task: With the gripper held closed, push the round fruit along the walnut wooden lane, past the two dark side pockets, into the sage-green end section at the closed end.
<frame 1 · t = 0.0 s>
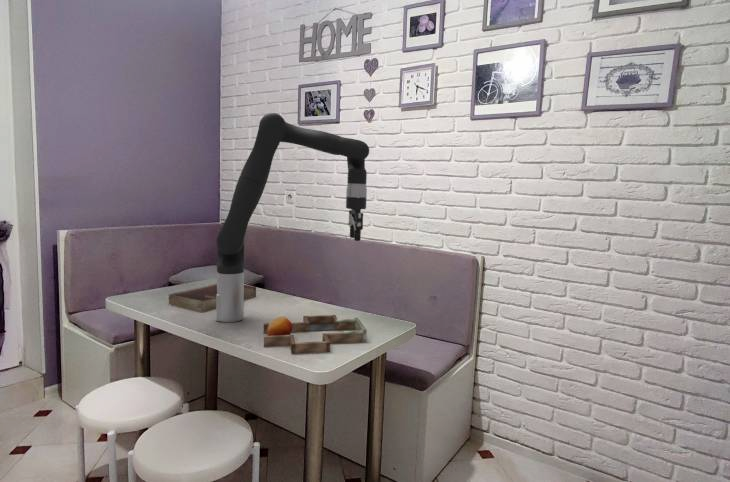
hand: (354, 239, 169), 29 cm above the table, tool pointing down, fingers open, 8 cm apart
fruit: (279, 339, 144), on the table
trap box: (313, 337, 147), on the table
latched wooden chest: (214, 302, 186), on the table
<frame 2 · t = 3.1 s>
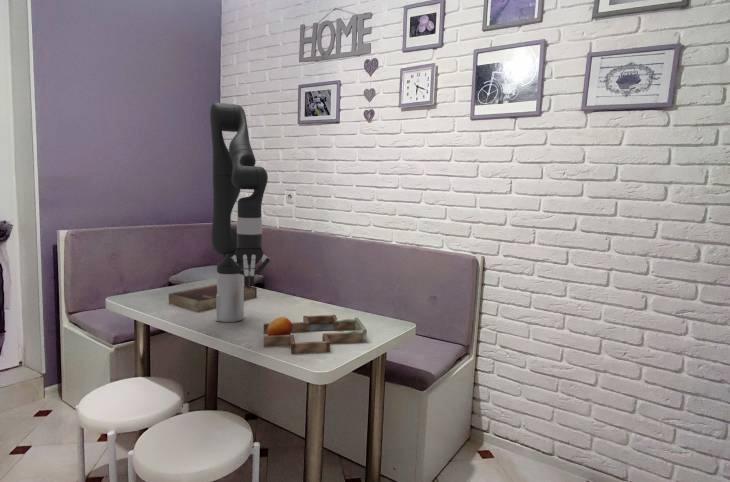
hand: (249, 287, 140), 17 cm above the table, tool pointing down, fingers closed
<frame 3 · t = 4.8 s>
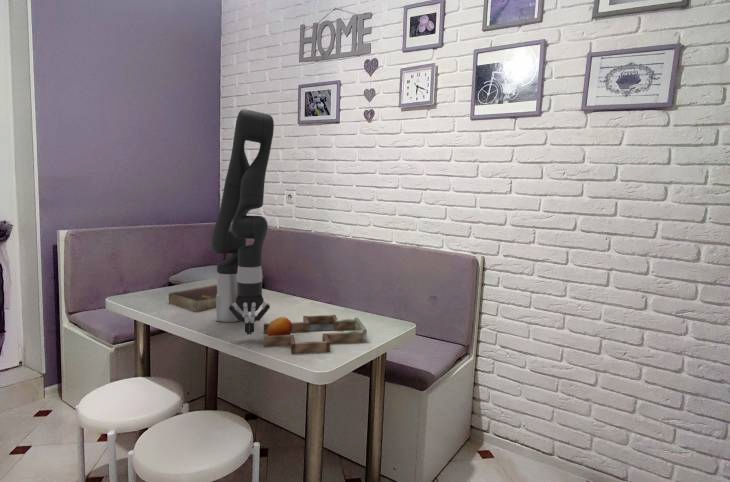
hand: (249, 333, 142), 2 cm above the table, tool pointing down, fingers closed
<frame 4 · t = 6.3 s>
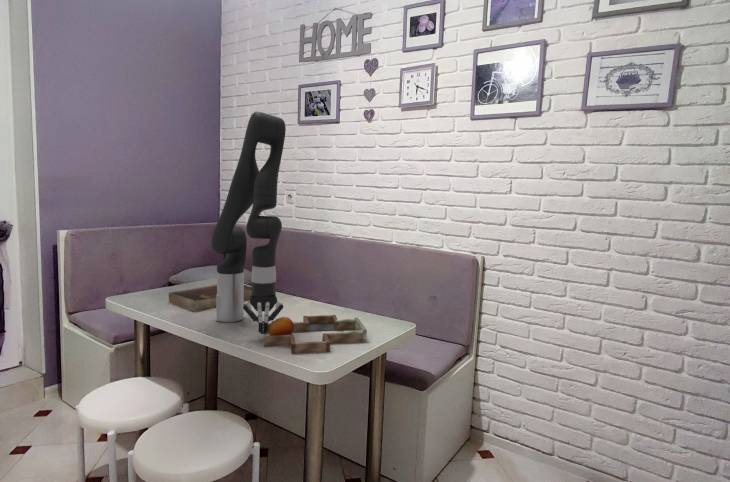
hand: (263, 333, 142), 2 cm above the table, tool pointing down, fingers closed
fruit: (281, 339, 144), on the table, touching gripper
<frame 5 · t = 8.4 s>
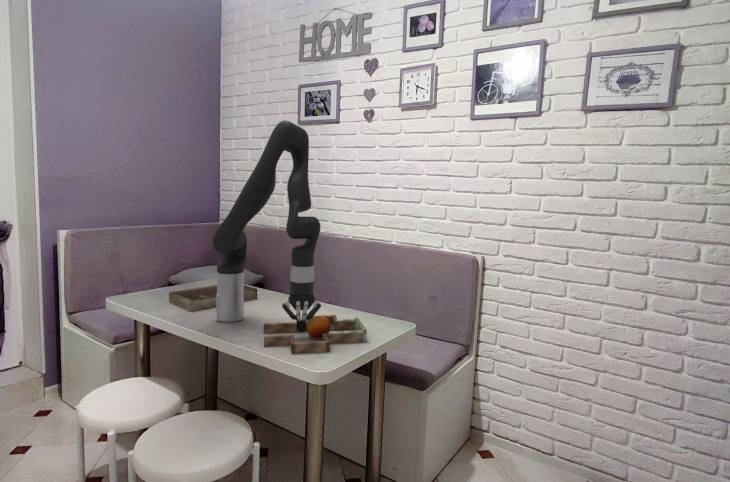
hand: (301, 331, 145), 2 cm above the table, tool pointing down, fingers closed
fruit: (318, 337, 147), on the table, touching gripper
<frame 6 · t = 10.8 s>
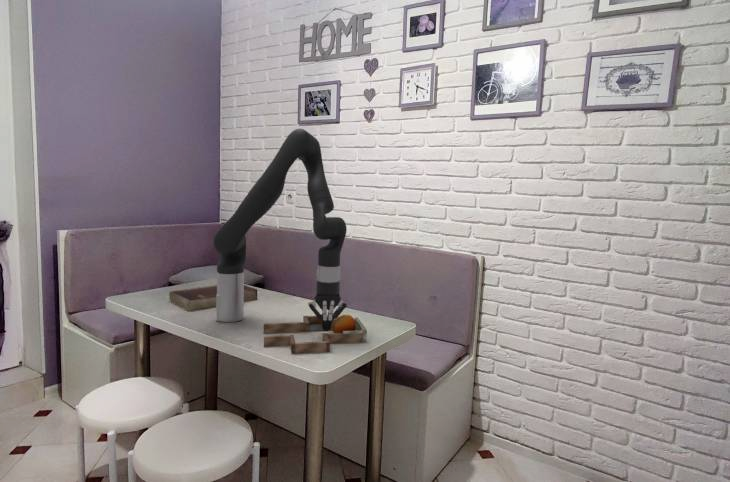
hand: (326, 330, 147), 2 cm above the table, tool pointing down, fingers closed
fruit: (343, 336, 149), on the table, touching gripper
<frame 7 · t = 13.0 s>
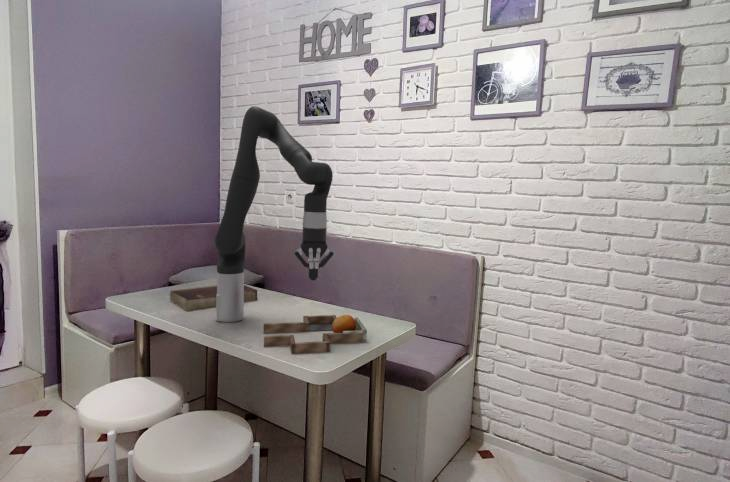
hand: (313, 279, 144), 19 cm above the table, tool pointing down, fingers closed
fruit: (343, 336, 149), on the table
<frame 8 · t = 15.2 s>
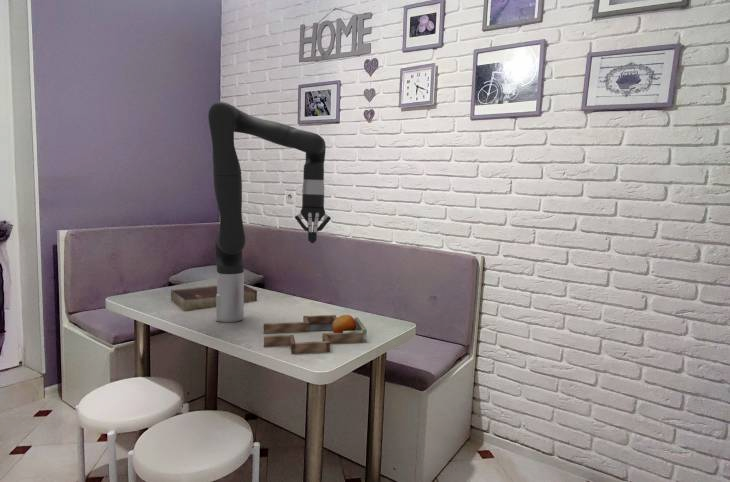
hand: (312, 242, 157), 29 cm above the table, tool pointing down, fingers closed
at the end: fruit inside the target area (1.4 cm from its centre), on the table; fruit moved 21.0 cm from its start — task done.
